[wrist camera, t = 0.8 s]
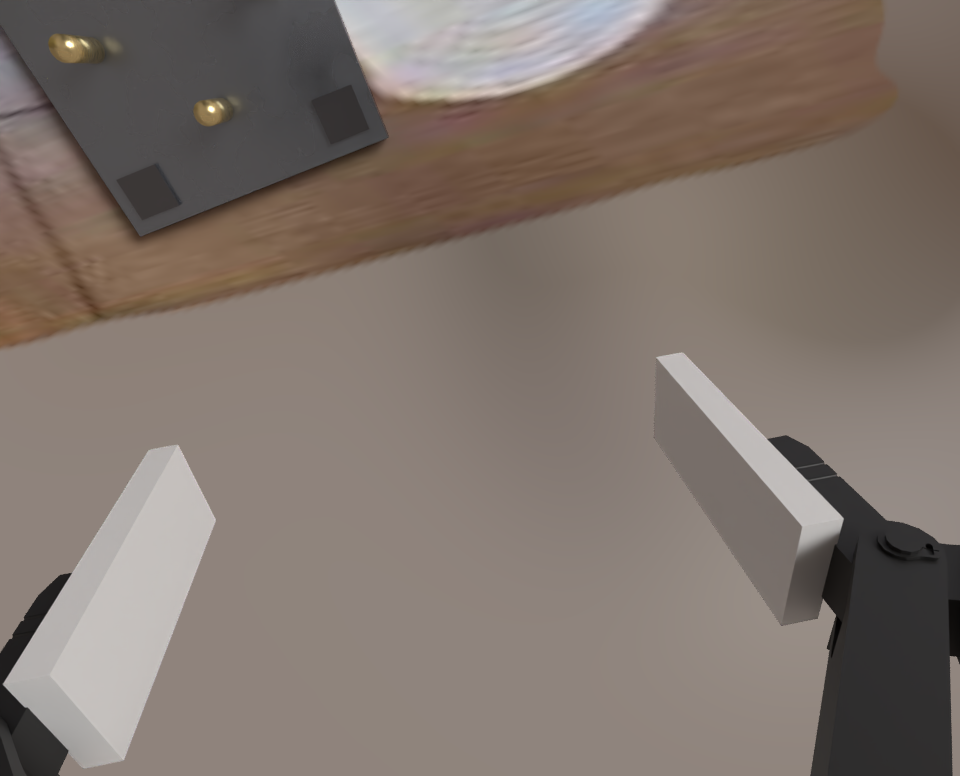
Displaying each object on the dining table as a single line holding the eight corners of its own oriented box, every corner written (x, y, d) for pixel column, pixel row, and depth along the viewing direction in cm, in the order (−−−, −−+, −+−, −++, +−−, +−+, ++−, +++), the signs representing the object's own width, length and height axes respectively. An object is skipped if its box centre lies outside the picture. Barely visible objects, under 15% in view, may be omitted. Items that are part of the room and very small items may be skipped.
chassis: (-91, -135, 27) (-169, -168, 23) (224, -278, 26) (196, -335, 22) (147, 231, 35) (119, 250, 32) (388, 135, 35) (387, 143, 31)
